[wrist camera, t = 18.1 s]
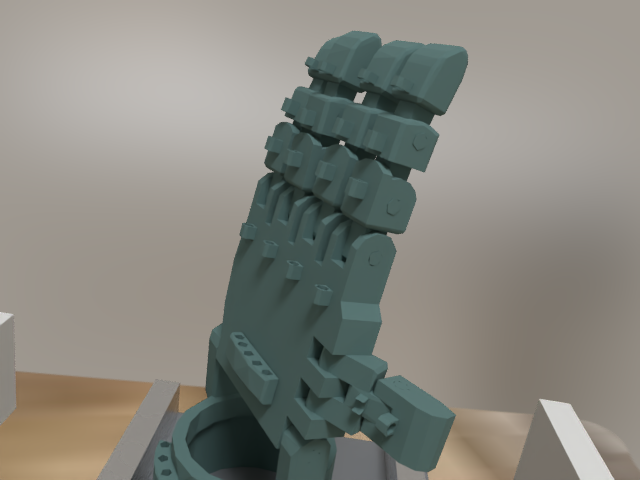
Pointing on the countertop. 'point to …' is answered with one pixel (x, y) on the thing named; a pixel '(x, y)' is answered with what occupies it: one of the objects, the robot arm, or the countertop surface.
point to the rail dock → (159, 423)
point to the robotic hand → (323, 276)
